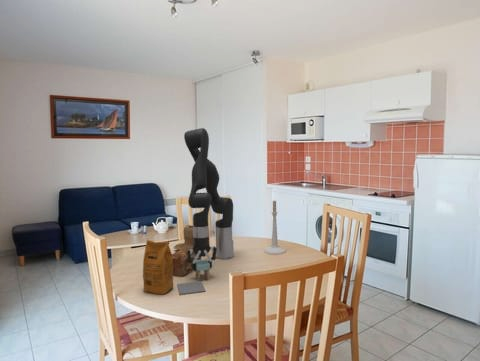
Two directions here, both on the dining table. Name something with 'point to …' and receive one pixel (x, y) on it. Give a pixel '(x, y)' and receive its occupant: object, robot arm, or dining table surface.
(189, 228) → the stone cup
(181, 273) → the bread
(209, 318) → the dining table surface
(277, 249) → the candlestick
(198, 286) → the mat
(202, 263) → the blue block with pegs
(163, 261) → the coffee package
